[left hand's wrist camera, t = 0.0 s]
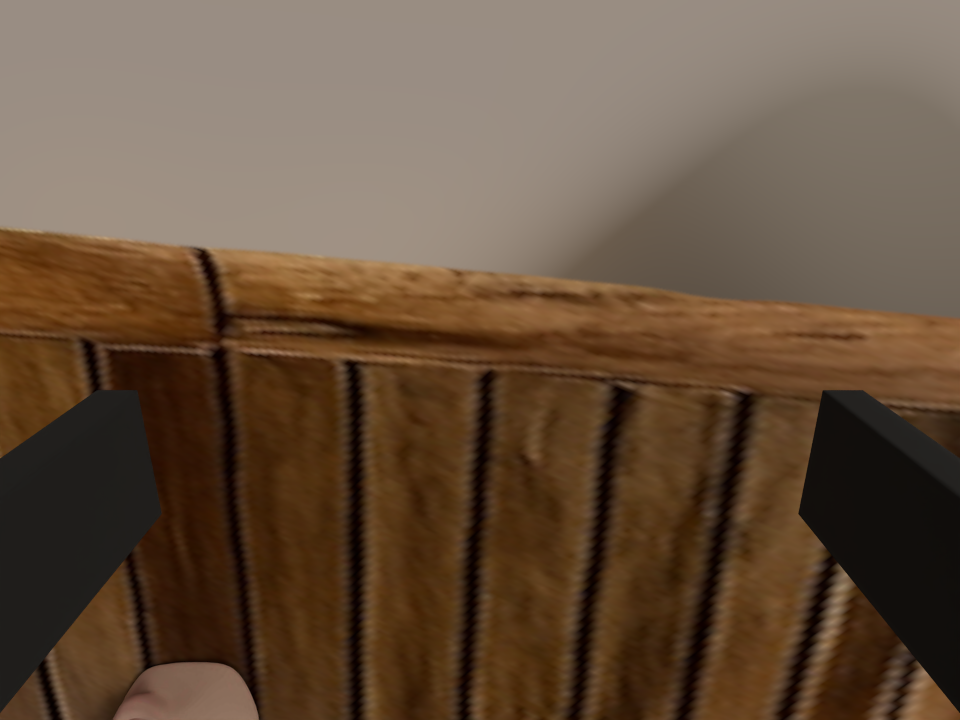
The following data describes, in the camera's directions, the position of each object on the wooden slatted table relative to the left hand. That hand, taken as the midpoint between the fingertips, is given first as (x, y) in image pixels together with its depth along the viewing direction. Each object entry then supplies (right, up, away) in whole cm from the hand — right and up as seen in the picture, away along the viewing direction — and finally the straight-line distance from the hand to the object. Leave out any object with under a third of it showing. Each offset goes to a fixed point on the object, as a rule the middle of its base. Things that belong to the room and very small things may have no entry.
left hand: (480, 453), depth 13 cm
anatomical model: (-24, -27, +40) cm, 54 cm away
